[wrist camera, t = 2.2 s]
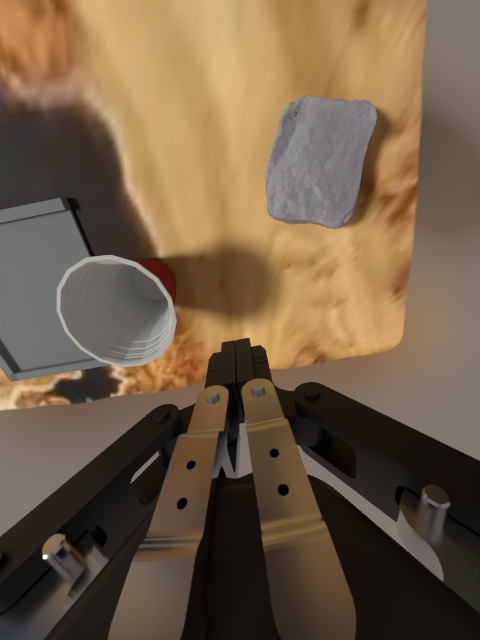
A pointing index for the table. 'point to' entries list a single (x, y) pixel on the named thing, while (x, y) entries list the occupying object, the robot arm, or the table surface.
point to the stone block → (318, 160)
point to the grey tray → (38, 289)
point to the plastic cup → (119, 308)
